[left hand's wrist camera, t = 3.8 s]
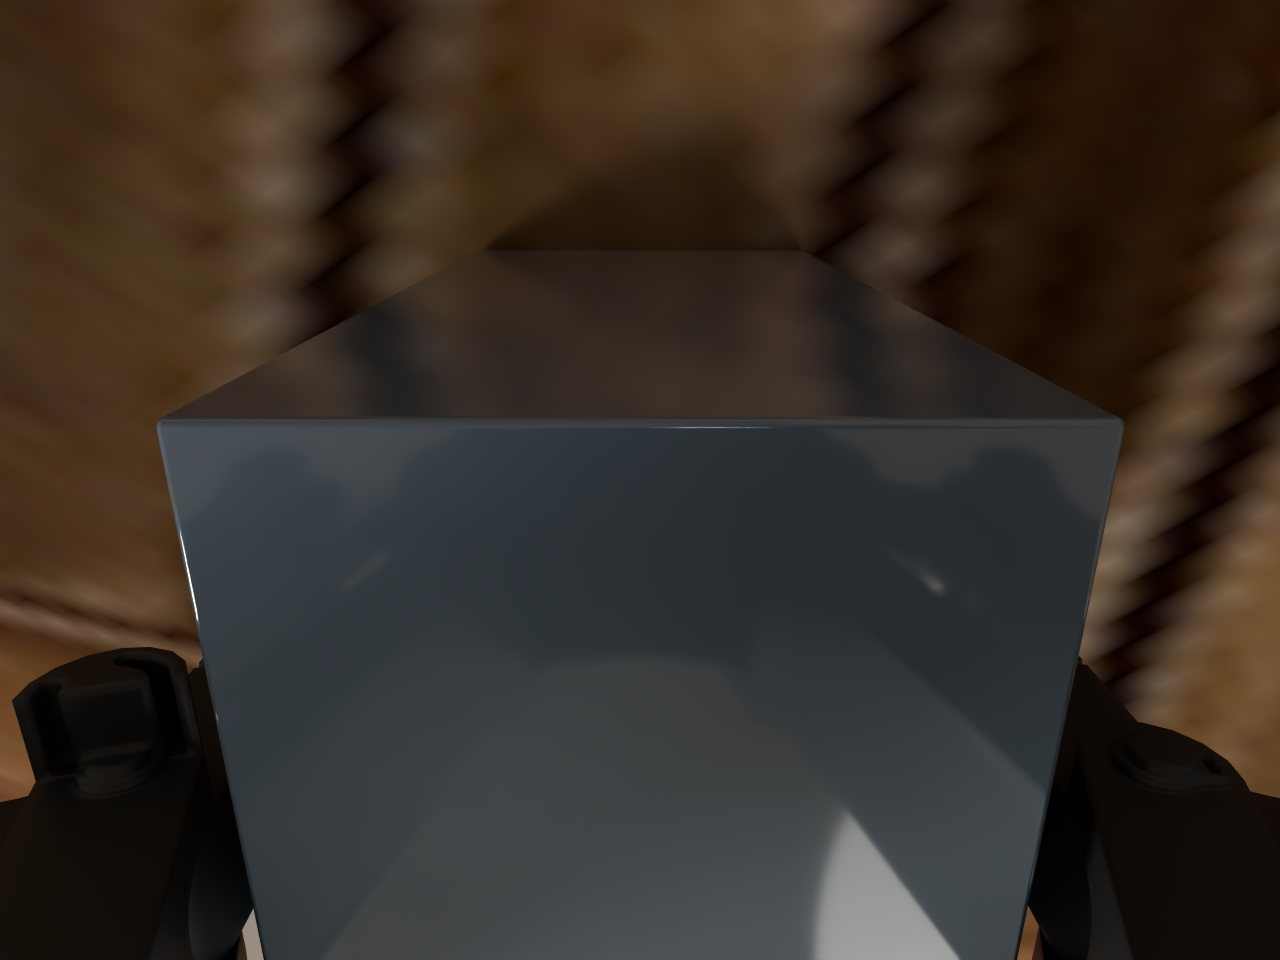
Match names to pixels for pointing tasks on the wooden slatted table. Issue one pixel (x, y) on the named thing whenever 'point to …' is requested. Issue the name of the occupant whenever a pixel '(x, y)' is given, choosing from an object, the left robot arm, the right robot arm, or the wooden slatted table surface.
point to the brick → (640, 615)
